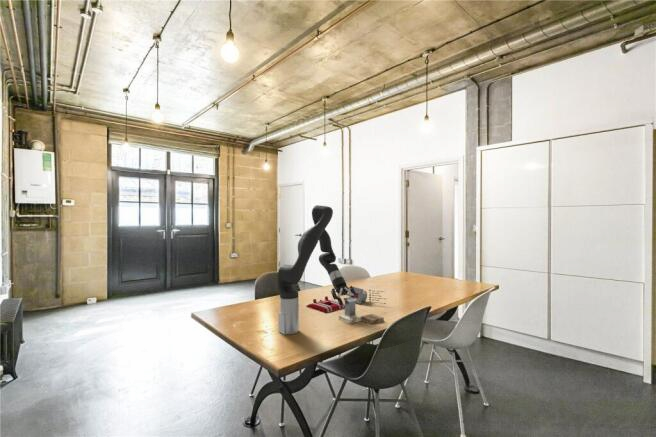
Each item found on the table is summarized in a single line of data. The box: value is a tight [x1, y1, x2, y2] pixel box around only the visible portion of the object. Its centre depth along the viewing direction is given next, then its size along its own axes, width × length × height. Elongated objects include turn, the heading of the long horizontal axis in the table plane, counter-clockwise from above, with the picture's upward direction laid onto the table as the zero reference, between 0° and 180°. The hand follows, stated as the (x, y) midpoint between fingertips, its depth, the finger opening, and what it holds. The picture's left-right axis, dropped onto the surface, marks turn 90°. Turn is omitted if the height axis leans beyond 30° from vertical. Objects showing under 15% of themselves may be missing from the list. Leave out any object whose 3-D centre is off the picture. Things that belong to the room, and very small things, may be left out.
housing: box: [343, 296, 357, 318], centre depth 179 cm, size 5×5×10 cm
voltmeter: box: [352, 286, 386, 305], centre depth 215 cm, size 27×11×10 cm, turn 66°
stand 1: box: [338, 314, 363, 324], centre depth 179 cm, size 9×9×2 cm
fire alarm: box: [305, 296, 345, 314], centre depth 206 cm, size 16×6×20 cm
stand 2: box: [360, 313, 385, 325], centre depth 178 cm, size 9×9×2 cm
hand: (348, 303), depth 180 cm, fingers open, 8 cm apart
